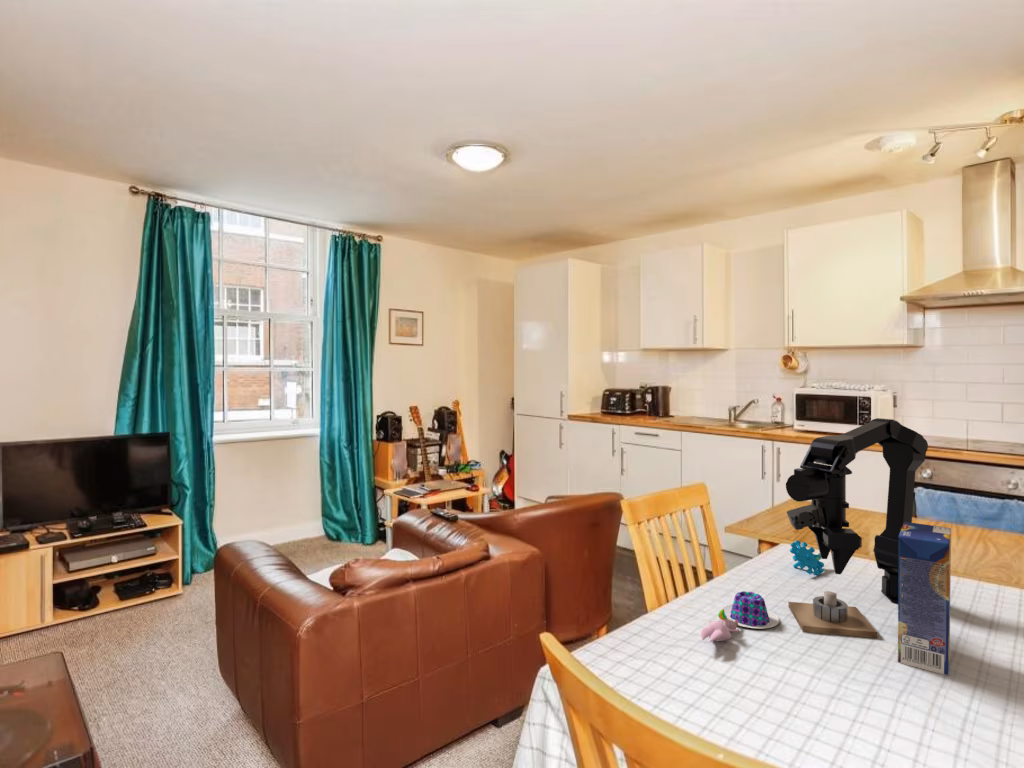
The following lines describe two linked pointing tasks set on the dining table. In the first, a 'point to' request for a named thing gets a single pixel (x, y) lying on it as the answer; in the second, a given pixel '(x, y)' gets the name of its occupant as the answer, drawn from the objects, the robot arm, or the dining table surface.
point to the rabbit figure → (720, 628)
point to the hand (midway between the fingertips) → (830, 566)
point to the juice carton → (924, 596)
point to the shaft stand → (810, 623)
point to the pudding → (750, 611)
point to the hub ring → (830, 610)
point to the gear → (806, 558)
